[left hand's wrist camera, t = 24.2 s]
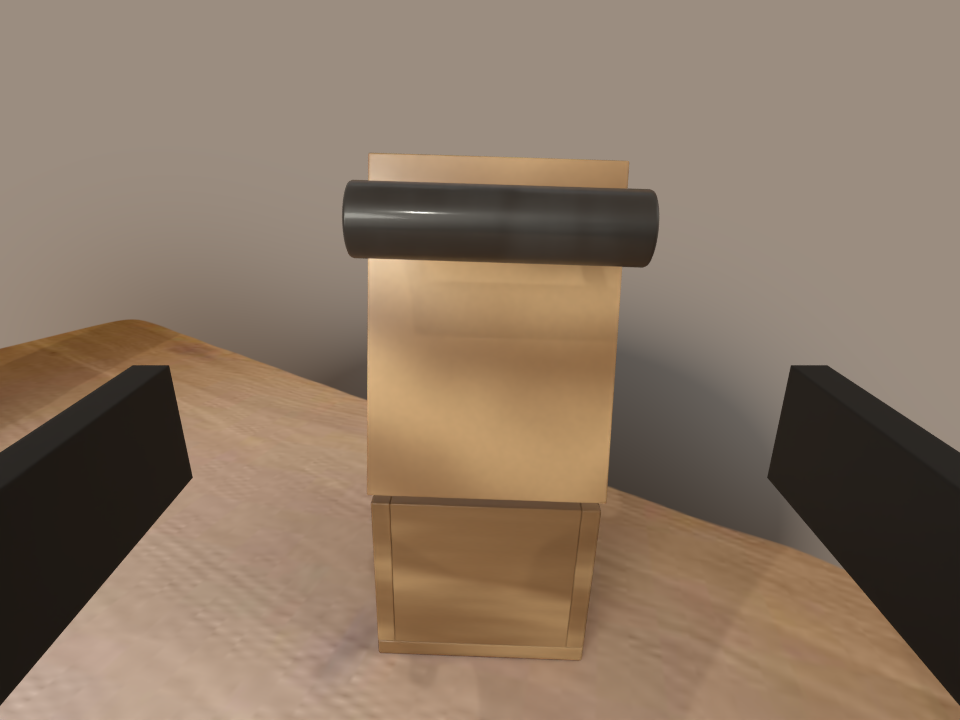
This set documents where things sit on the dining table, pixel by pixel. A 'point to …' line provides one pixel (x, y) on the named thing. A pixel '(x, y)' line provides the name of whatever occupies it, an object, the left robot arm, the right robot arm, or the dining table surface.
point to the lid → (494, 320)
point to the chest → (483, 576)
